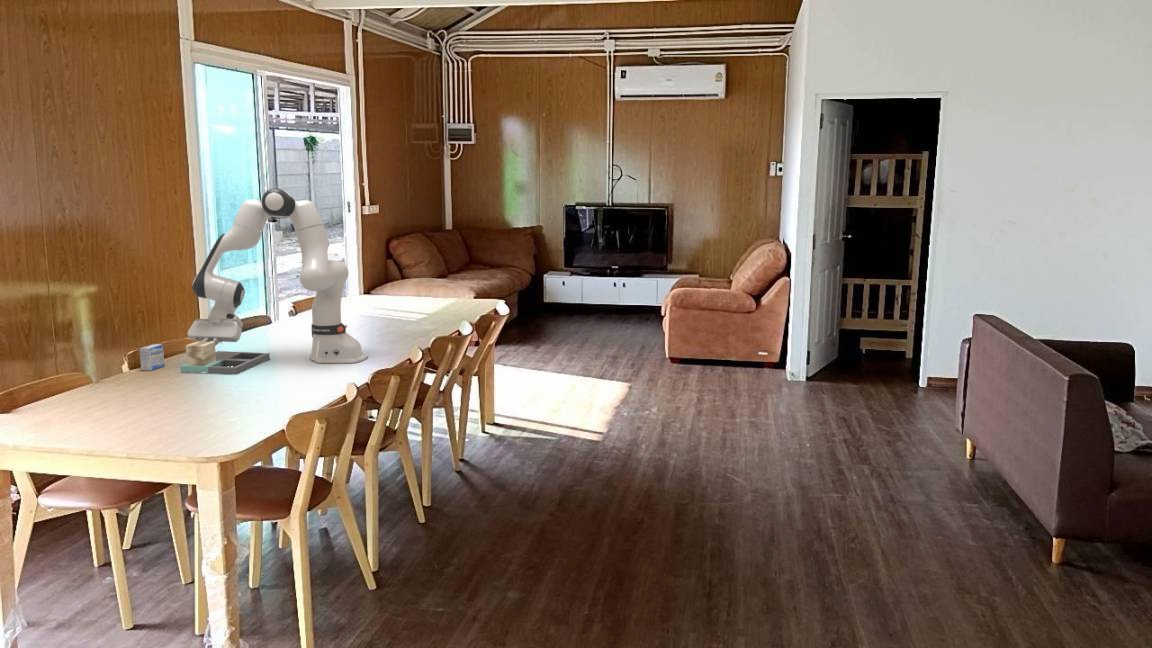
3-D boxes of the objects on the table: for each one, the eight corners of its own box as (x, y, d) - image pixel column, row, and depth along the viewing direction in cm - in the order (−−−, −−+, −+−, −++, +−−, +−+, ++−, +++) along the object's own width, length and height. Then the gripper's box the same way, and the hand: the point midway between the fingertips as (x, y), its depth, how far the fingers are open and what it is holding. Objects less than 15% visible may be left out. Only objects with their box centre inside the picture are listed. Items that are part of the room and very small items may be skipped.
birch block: (216, 361, 338) (214, 341, 337) (204, 365, 331) (203, 346, 329) (199, 360, 339) (197, 341, 338) (187, 365, 332) (185, 345, 330)
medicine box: (151, 371, 333) (149, 348, 331) (140, 370, 334) (139, 347, 332) (165, 366, 340) (163, 344, 339) (154, 365, 341) (152, 343, 340)
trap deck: (269, 359, 353) (269, 353, 353) (235, 374, 328) (235, 368, 328) (218, 357, 356) (218, 351, 356) (181, 372, 331) (180, 365, 331)
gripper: (191, 314, 345) (179, 343, 338) (240, 315, 342) (229, 345, 335) (198, 323, 351) (186, 352, 343) (247, 325, 348) (235, 354, 340)
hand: (207, 349), depth 339 cm, fingers closed, pressing on birch block
